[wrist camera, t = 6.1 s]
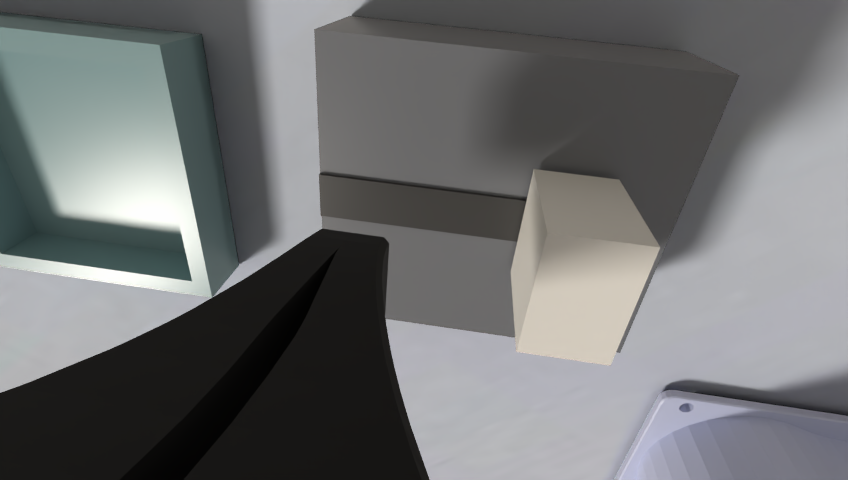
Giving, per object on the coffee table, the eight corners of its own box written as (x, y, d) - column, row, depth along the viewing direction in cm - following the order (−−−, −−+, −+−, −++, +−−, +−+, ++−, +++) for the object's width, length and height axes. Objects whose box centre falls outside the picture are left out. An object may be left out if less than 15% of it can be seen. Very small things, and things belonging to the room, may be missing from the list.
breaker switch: (619, 179, 11) (660, 247, 8) (585, 282, 12) (610, 365, 10) (533, 168, 11) (547, 232, 8) (510, 271, 12) (516, 351, 10)
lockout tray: (201, 34, 13) (159, 45, 12) (238, 265, 18) (212, 297, 16) (-61, 5, 14) (-138, 11, 12) (38, 236, 18) (-9, 265, 16)
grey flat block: (685, 51, 12) (741, 76, 9) (599, 291, 16) (620, 355, 14) (349, 16, 12) (313, 29, 10) (350, 257, 17) (324, 311, 14)
